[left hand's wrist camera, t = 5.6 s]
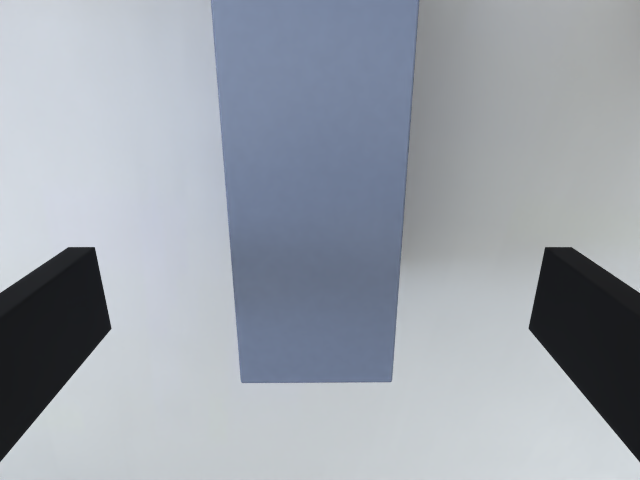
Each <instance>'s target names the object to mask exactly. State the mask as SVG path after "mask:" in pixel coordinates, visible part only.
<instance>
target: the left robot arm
mask: <svg viewBox="0 0 640 480" xmlns="http://www.w3.org/2000/svg"><path fill="white" fill-rule="evenodd" d="M110 330H111V324H110V319H109V314H108V310H107V305H106V300H105V295H104V290H103V285H102V280H101V275H100V271H99V266H98V261H97V256H96V251H95V247H68V248H67V249H65V250H64V251H62V252H61V253H59V254H58V255H56V256H55V257H53V258H52V259H50V260H49V261H47V262H46V263H44V264H43V265H41V266H40V267H38V268H37V269H35V270H34V271H32V272H31V273H29V274H28V275H26V276H25V277H23V278H22V279H20V280H19V281H17V282H16V283H15V284H13V285H12V286H10V287H9V288H7V289H6V290H4V291H3V292H1V293H0V462H1V460H2V459H3V458H4V457H5V456H6V454H7V453H8V452H9V451H10V450H11V448H12V447H13V446H14V445H15V444H16V442H17V441H18V440H19V439H20V438H21V436H22V435H23V434H24V433H25V432H26V430H27V429H28V428H29V427H30V426H31V424H32V423H33V422H34V421H35V420H36V418H37V417H38V416H39V415H40V414H41V412H42V411H43V410H44V409H45V408H46V406H47V405H48V404H49V403H50V402H51V400H52V399H53V398H54V397H55V396H56V394H57V393H58V392H59V391H60V390H61V388H62V387H63V386H64V385H65V384H66V382H67V381H68V380H69V379H70V378H71V376H72V375H73V374H74V373H75V372H76V370H77V369H78V368H79V367H80V366H81V364H82V363H83V362H84V361H85V360H86V358H87V357H88V356H89V355H90V354H91V352H92V351H93V350H94V349H95V348H96V346H97V345H98V344H99V343H100V342H101V341H102V339H103V338H104V337H105V336H106V335H107V333H108V332H109V331H110ZM529 330H530V331H531V332H532V333H533V335H534V336H535V337H536V338H537V339H538V341H539V342H540V343H541V344H542V345H543V346H544V348H545V349H546V350H547V351H548V352H549V354H550V355H551V356H552V357H553V358H554V360H555V361H556V362H557V363H558V364H559V366H560V367H561V368H562V369H563V370H564V372H565V373H566V374H567V375H568V376H569V378H570V379H571V380H572V381H573V382H574V384H575V385H576V386H577V387H578V388H579V390H580V391H581V392H582V393H583V394H584V396H585V397H586V398H587V399H588V400H589V402H590V403H591V404H592V405H593V406H594V408H595V409H596V410H597V411H598V412H599V414H600V415H601V416H602V417H603V418H604V420H605V421H606V422H607V423H608V424H609V426H610V427H611V428H612V429H613V430H614V432H615V433H616V434H617V435H618V436H619V438H620V439H621V440H622V441H623V442H624V444H625V445H626V446H627V447H628V448H629V450H630V451H631V452H632V453H633V454H634V456H635V457H636V458H637V459H638V460H639V462H640V293H639V292H637V291H636V290H634V289H633V288H631V287H630V286H628V285H627V284H625V283H624V282H623V281H621V280H620V279H618V278H617V277H615V276H614V275H612V274H611V273H609V272H608V271H606V270H605V269H603V268H602V267H600V266H599V265H597V264H596V263H594V262H593V261H591V260H590V259H588V258H587V257H585V256H584V255H582V254H581V253H579V252H578V251H576V250H575V249H573V248H572V247H545V251H544V256H543V261H542V266H541V271H540V275H539V280H538V285H537V290H536V295H535V300H534V305H533V310H532V314H531V319H530V324H529Z"/></svg>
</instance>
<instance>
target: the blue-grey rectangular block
mask: <svg viewBox="0 0 640 480" xmlns="http://www.w3.org/2000/svg"><path fill="white" fill-rule="evenodd" d="M211 7H212V20H213V32H214V45H215V58H216V70H217V83H218V96H219V109H220V121H221V134H222V147H223V159H224V172H225V185H226V197H227V210H228V223H229V235H230V248H231V261H232V273H233V286H234V299H235V312H236V324H237V337H238V350H239V362H240V375H241V382H242V383H320V382H391V381H392V373H393V359H394V345H395V331H396V317H397V303H398V289H399V275H400V261H401V247H402V233H403V219H404V205H405V191H406V177H407V163H408V149H409V135H410V122H411V108H412V94H413V80H414V66H415V52H416V38H417V24H418V10H419V0H211Z"/></svg>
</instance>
